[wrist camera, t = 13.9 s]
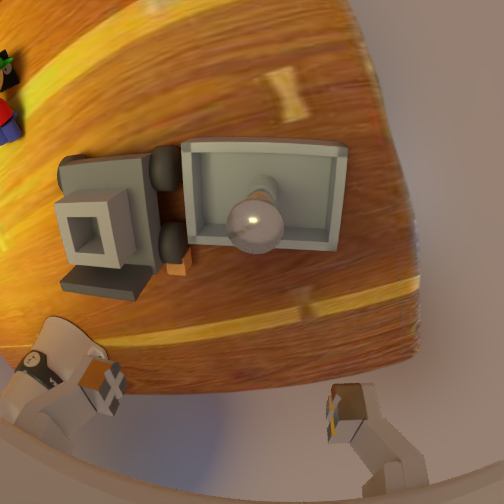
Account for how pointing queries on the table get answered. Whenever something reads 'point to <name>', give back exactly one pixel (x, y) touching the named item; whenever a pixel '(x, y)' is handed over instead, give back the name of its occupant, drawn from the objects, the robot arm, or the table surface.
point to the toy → (3, 123)
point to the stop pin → (257, 218)
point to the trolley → (119, 222)
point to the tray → (284, 173)
